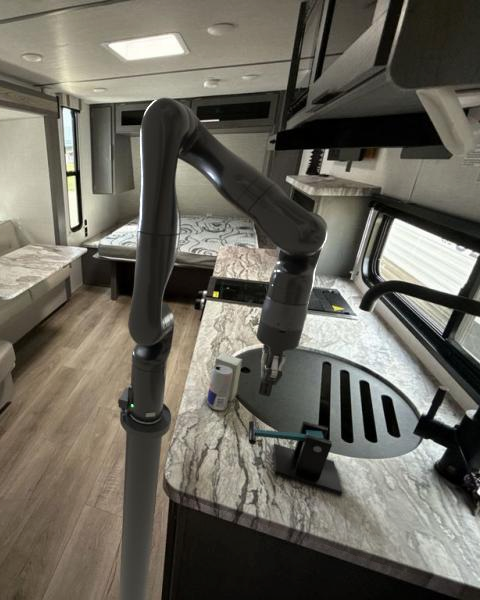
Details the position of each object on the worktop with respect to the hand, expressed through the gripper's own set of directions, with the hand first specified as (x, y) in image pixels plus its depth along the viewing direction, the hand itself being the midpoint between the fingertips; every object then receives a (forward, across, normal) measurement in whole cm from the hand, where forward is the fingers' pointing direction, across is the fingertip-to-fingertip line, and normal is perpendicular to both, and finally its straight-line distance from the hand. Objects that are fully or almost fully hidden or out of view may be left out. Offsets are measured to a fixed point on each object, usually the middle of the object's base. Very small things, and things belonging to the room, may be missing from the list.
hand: (263, 393), depth 66 cm
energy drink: (+17, -14, -9) cm, 24 cm away
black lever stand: (+17, 0, +11) cm, 20 cm away
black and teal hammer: (+11, 0, +6) cm, 12 cm away
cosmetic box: (+17, -20, -8) cm, 27 cm away
